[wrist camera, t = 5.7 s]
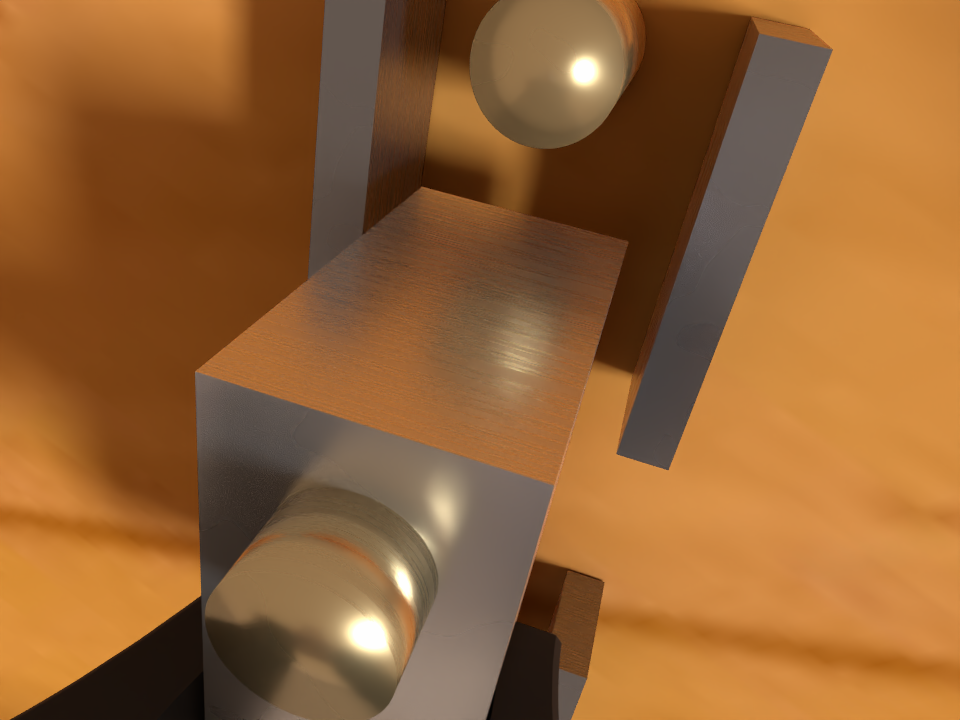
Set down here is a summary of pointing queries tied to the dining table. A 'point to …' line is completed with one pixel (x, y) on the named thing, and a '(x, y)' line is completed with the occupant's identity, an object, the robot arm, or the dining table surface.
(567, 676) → the end link
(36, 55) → the dining table surface
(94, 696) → the robot arm
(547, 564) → the dining table surface
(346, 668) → the block with brass knobs
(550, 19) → the end link
